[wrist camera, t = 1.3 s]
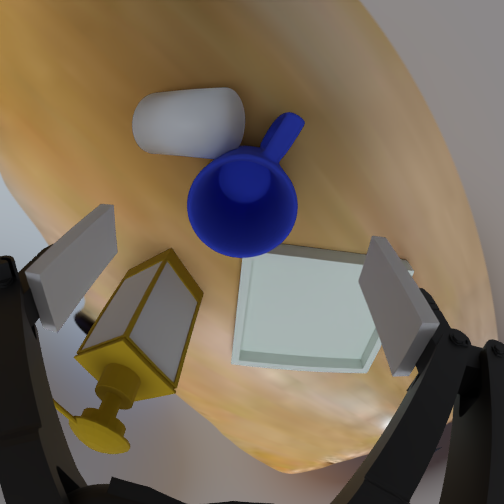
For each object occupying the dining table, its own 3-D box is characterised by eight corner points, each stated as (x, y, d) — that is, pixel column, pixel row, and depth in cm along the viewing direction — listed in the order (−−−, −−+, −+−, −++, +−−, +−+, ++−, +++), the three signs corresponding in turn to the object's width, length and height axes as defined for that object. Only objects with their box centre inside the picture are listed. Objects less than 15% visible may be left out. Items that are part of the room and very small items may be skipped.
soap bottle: (145, 209, 34) (24, 364, 14) (203, 293, 40) (156, 469, 19) (103, 236, 36) (-11, 377, 16) (160, 310, 41) (100, 466, 21)
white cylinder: (198, 92, 20) (128, 99, 23) (205, 169, 23) (137, 162, 27) (243, 84, 24) (174, 88, 28) (246, 149, 27) (180, 143, 31)
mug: (320, 132, 30) (348, 148, 21) (258, 226, 35) (261, 275, 26) (249, 90, 28) (248, 85, 19) (191, 191, 33) (169, 228, 24)
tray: (245, 239, 36) (243, 250, 33) (406, 260, 36) (414, 271, 34) (232, 350, 44) (231, 364, 42) (363, 360, 45) (366, 373, 42)
